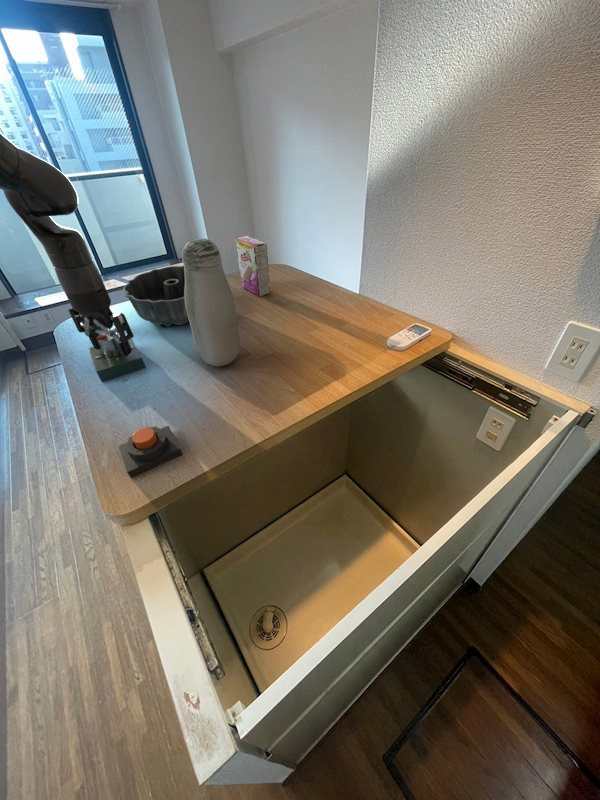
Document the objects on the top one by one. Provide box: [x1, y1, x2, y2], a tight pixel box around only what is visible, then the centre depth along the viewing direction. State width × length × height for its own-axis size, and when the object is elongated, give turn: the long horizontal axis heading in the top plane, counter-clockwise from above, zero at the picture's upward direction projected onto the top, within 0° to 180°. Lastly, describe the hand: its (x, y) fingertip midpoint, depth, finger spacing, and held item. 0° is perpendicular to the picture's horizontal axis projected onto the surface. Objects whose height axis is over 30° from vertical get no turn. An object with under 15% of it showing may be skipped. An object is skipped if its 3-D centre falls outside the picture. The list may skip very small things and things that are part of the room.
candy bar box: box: [235, 235, 271, 298], centre depth 108 cm, size 11×5×16 cm, turn 40°
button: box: [132, 427, 157, 449], centre depth 56 cm, size 4×4×2 cm
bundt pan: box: [122, 265, 189, 327], centre depth 98 cm, size 26×26×10 cm
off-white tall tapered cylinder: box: [181, 238, 241, 368], centre depth 72 cm, size 10×10×28 cm
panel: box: [87, 338, 147, 383], centre depth 80 cm, size 12×10×3 cm
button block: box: [118, 425, 183, 479], centre depth 58 cm, size 9×7×4 cm
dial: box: [96, 332, 122, 358], centre depth 77 cm, size 4×4×5 cm
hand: (113, 351), depth 79 cm, fingers open, 8 cm apart
